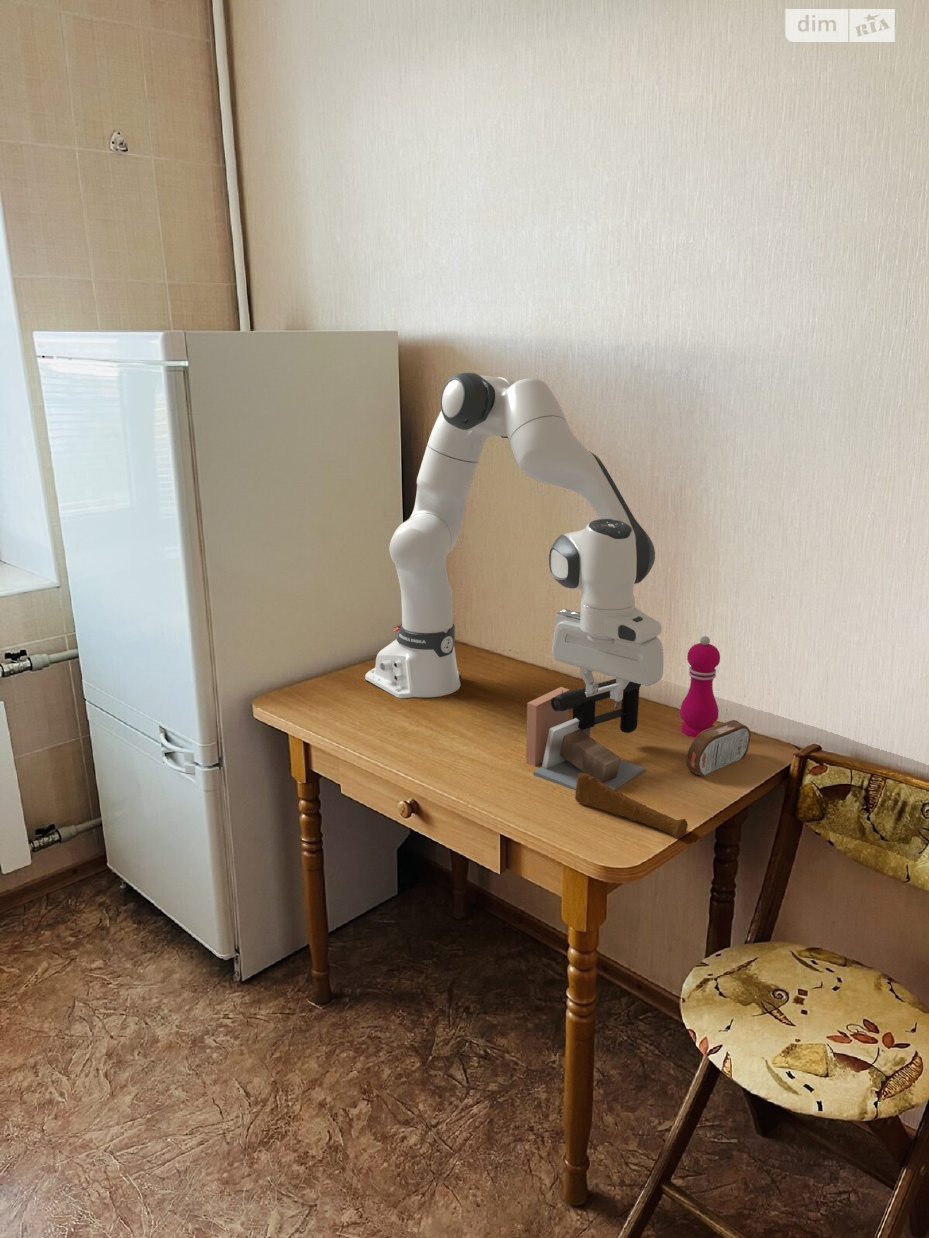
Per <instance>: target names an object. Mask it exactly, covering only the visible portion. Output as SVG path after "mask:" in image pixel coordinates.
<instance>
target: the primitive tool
mask: <svg viewBox="0 0 929 1238" xmlns="http://www.w3.org/2000/svg"><path fill="white" fill-rule="evenodd" d="M574 796H575V801H576V802H577V803H579V804H582V805H584V806H589V807H592V808H596V809H597V808H598V809H600V810H604V811H607V812H610V813H611V814H615V815H616V816H617V815H618V816H620V817H625V818H628V819H629V820H631V821H632V822H639V823H642V824H645V825H648V826H649V827H652V828H654V829H658V830H660V831H662V832H664V833H666V834H669V835H671V836H673V838H674V839H680V838H683V837H684V835H686V833H687V829H688V826H689V825H688V821H687V820H686V819H685V818H681V819H677V818H676V819H675V818H673V817H670V816H669V815H667V814H664V813H661V812H659V811H657V810H656V809H654V808H650V807H648V806H647V805H646V804H643V803H642V802H639V801H637V800H635V799H633V798H631V797H630V796H629V797H628V796H627V795H625V794H624V793H623V792H620V791H619V790H617V789H612V788H610V787H608V786H607V785H605V784H603V783H601V782H600V781H598V780H596V779H595V777H591V776H590V775H589V774H585V773H579V775H578V780H577V785H576V790H575V794H574Z"/></svg>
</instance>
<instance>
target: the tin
mask: <svg viewBox="0 0 929 1238" xmlns="http://www.w3.org/2000/svg"><path fill="white" fill-rule="evenodd" d="M751 734H752V732H751V729H750V728H749V727H748V726H746V725H745V724H743V723H741V722H739V721H738V720H737V719H731V720H728V721H725V722H723V723H721V724H718V725H714V727H712V728H709V729H707V730H704V731H702V732H701V733H700V734H698V735H697V737H696V738H694V739H693V740H692V742H691V744H690V745H689V747H688V750H687V754H686V757H685V758H686V759H685V760H686V761H685V762H686V763H685V764H686V768H687V769H688V771H689V772H691V773H693V774H695V775H697V776H698V777H704V776H707V775H708V774H710V773H712V772H714V771H716V770H720V769H721V768H724V767H725V766H728V765H730V764H732V763H735V762H736V761H741V760H742V759H744V757H745V756H746V754H747V752H748V750H749V747H750V742H751V736H752V735H751Z"/></svg>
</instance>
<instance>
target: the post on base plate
mask: <svg viewBox="0 0 929 1238" xmlns="http://www.w3.org/2000/svg"><path fill="white" fill-rule="evenodd" d="M578 726H579V720H578V719H577V718H574V719H573V718H572V719H569V721H567V722H565V723H562V724H560V725H557V726H555V727H552V728H550V729H549V734H548V739H547V744H546V749H545V754H544V759H543V762H542V763H541V764H542V765H541V767H544V768H545V769H547V768H550V767H552V766H554V765H556V764H559V763H561V762H563V761H565V760H568V761H569V762H571V763H572V764H573V765H575V766H576V767H578V768H579V769H580V770H582V771H583V772H585V773H586V774H589V775H590V776H591V777H595V779H596V780H598V781H600V782H601V783H605V782H607V781H610V780H612V779H614V778H616V777H617V774H618V770H619V765H620V761H621V760H622V757H620V756H619V755H617V754H616V753H614V752H613V751H612V750H610V749H608V748H607V747H605V746H604V745H603V744H601V743H599V742H598V741H596V740H595V739H594V738H593V737H591V736H590V737H589V736H588V735H586V734H585V733H583V732H582V731H580V728H578Z"/></svg>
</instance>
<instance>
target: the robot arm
mask: <svg viewBox="0 0 929 1238" xmlns="http://www.w3.org/2000/svg"><path fill="white" fill-rule="evenodd" d="M430 432H431V433H430V435H429V438H428V442H427V445H426V448H425V450H424V451H425V452H424V455H423V458H422V461H421V464H420V468H419V472H418V474H417V477H416V496H415V502H414V506H413V509H412V513H411V515H410V517H409V518H408V519H407V520H405V521H404V522H403V523H400V525H399V526H398V527H397V528H396V529H395V530H394V533H393V534H392V537H391V540H390V542H389V548H388V549H389V555H390V558H391V560H392V563H393V564H394V565H395V568H396V569H395V570H396V574H397V578H398V581H399V588H400V598H401V599H400V600H401V622H402V623H400V624H399V625H395V626H394V627H393V629H394V630H393V633H396V632H397V636H396V638H395V640H393V641H392V642H390V643H389V644H388V645H386V646H385V647H384V648H382V649H381V650H380V651H379V652H378V653H377V654H376V658H375V666H374V667H373V668H372V669H371V670H368V672H367V673H365V675H364V676H365V680H366V681H368V682H369V683H372V684H373V685H374V686H376V687H378V688H380V689H381V690H383V691H385V692H387V693H389V694H391V695H392V696H394V697H396V698H397V699H407V698H408V699H409V698H437V697H443V696H447V695H450V694H453V693H455V692H456V691H458V690H459V689H460V687H461V685H462V684H461V680H460V672H459V670H458V666H457V665H458V664H457V659H456V650H455V641H456V629H455V628H456V627H455V624H454V623H453V622H454V621H453V620H454V618H453V612H454V611H453V607H454V606H453V605H454V604H453V601H454V599H453V593H454V592H453V589H452V586H451V585H450V581H449V575H448V571H447V556H448V555H449V554H450V552H452V551H453V549H454V548H455V547H456V545H457V543H458V540H459V537H460V533H461V529H462V524H463V520H464V515H465V510H466V504H467V499H468V496H469V494H470V493H469V492H470V489H471V487H472V483H473V480H474V478H475V477H474V476H475V474H476V470H477V468H478V465H479V461H480V458H481V455H482V452H483V449H484V445H485V442H486V440H487V439H488V438H489V437H490V436H491V437H492V436H495V437H496V436H497V437H501V438H502V439H503V438H504V439H508V442H509V445H510V449H511V452H512V454H513V457H514V459H515V462H516V464H517V466H518V467H519V468H520V470H521V471H522V473H524V475H525V476H528V477H529V478H530V479H532V480H533V481H534V480H535V481H536V482H539V483H543V484H545V485H546V484H547V485H551V486H556V487H560V488H564V489H567V490H570V491H571V492H574V493H577V494H579V495H581V496H582V497H584V498H585V499H586V500H587V501H588V502H589V504H590V505H591V508H592V509H593V511H594V513H595V515H596V516H597V519H595V520H592V521H590V522H589V523H587V524H586V526H585V527H584V528H583V529H580V530H577V531H576V530H575V531H571V532H567V533H565V534H564V533H563V534H561V535H559V536H558V537H557V538H556V539H555V540H554V542H553V544H552V545H551V548H550V550H549V554H548V557H549V558H548V565H549V571H550V575H551V576H552V578H554V580H555V581H557V583H558V584H560V585H561V586H562V587H564V588H567V589H579V590H580V591H581V597H580V598H581V599H580V611H573V610H571V609H567V608H565V609H562V610H559V611H558V612H557V613H556V614H555V618H554V626H555V628H554V632H553V638H552V646H551V656H552V657H553V659H554V660H555V661H556V662H559V663H563V664H567V665H569V666H573V667H574V666H575V667H578V668H579V669H580V671H579V673H580V675H581V677H582V679H583V682H584V683H585V687H586V692H587V693H590V694H595V693H597V692H598V684H599V683H600V682H598V681H595V678H594V676H593V673H592V672H596V673H599V674H603V675H606V676H610V677H613V678H615V679H616V683H618V684H619V685H618V686H617V688H614V689H613V690H611V691H610V695H611V696H610V698H609V699H610V700H611V701H614V702H619V701H621V702H622V699H623V690H624V689H625V688H626V686H627V685H628V683H629V682H634V683H638V684H641V686H645V687H650V686H653V685H655V684H657V683H658V682H659V681H660V680H661V679H662V678H663V675H664V647H663V644H662V641H661V640H660V638H659V637H658V636H659V635H660V634H661V633H662V624H661V623H660V622H659V621H658V620H656V619H654V618H653V617H650V616H649V615H647V614H646V613H645V612H643V611H641V609H639V608H637V607H636V601H635V596H634V585H637V584H639V583H641V582H642V581H644V579H645V578H646V577H647V575H649V573H650V572H651V571H652V568H653V566H654V563H655V561H656V551H655V550H656V549H655V545H654V544H653V541H652V539H651V537H650V536H649V534H648V533H647V532H646V530H645V529H644V528H643V527H642V525H641V524H639V522H638V521H637V520H636V518H635V516H634V515H633V513H632V512H631V509H630V508H629V506H628V504H627V502H626V501H625V499H624V497H623V495H622V494H621V492H620V490H619V489H618V486H617V485H616V483H615V481H614V480H613V477H612V476H611V474H610V472H609V471H608V470H607V468H606V466H605V464H604V463H603V462H602V461H601V459H600V458H599V457H598V456H597V455H596V454H594V453H593V452H591V451H589V450H588V448H586V447H585V446H584V445H583V444H582V443H581V442H580V441H579V439H577V437H576V436H575V434H574V433H573V432H572V430H571V428H570V426H569V424H568V421H567V419H566V416H565V413H564V411H563V409H562V407H561V405H560V404H559V401H558V400H557V397H556V396H555V394H554V393H553V391H552V389H550V387H549V385H548V384H547V383H545V382H544V381H543V380H541V379H539V378H535V377H533V378H532V377H529V378H528V377H527V378H522V379H520V380H517V381H515V380H513V379H511V378H510V379H509V378H505V377H502V376H497V377H496V376H491V375H484V374H477V373H475V372H462V373H461V372H460V373H457V374H454V375H452V376H451V377H450V378H449V379H448V380H447V382H446V384H445V385H444V387H443V389H442V392H441V396H440V412H439V415H437V418H436V421H435V423H434V426H433V428H432V430H431V431H430Z"/></svg>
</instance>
